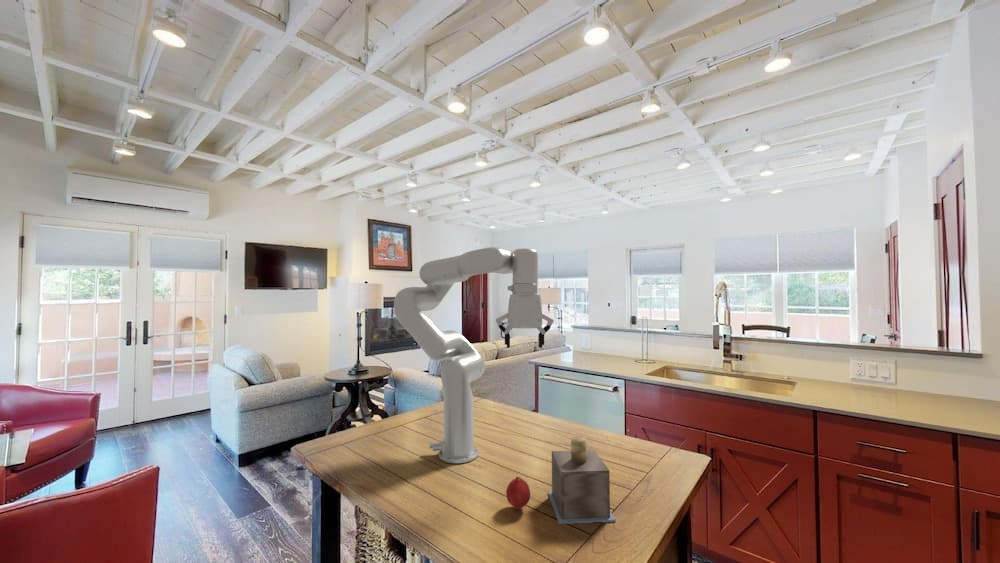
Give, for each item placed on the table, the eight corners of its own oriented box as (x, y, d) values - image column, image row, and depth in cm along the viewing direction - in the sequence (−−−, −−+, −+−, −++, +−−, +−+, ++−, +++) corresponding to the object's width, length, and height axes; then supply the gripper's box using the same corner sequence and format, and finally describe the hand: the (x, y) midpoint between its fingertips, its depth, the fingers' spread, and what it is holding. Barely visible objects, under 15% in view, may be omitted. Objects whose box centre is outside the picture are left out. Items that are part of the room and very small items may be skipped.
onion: (505, 502, 93) (505, 470, 93) (528, 501, 93) (527, 469, 93) (507, 516, 87) (507, 481, 87) (532, 515, 87) (531, 480, 88)
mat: (558, 524, 84) (558, 521, 84) (548, 493, 97) (548, 491, 97) (615, 521, 85) (615, 519, 85) (597, 491, 98) (597, 489, 98)
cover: (561, 519, 85) (561, 449, 85) (552, 493, 96) (551, 431, 97) (610, 517, 86) (609, 448, 86) (594, 491, 97) (594, 430, 97)
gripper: (496, 289, 108) (495, 349, 108) (555, 290, 109) (555, 349, 108) (495, 289, 116) (495, 345, 115) (551, 290, 116) (550, 345, 116)
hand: (524, 347), depth 112 cm, fingers open, 9 cm apart
